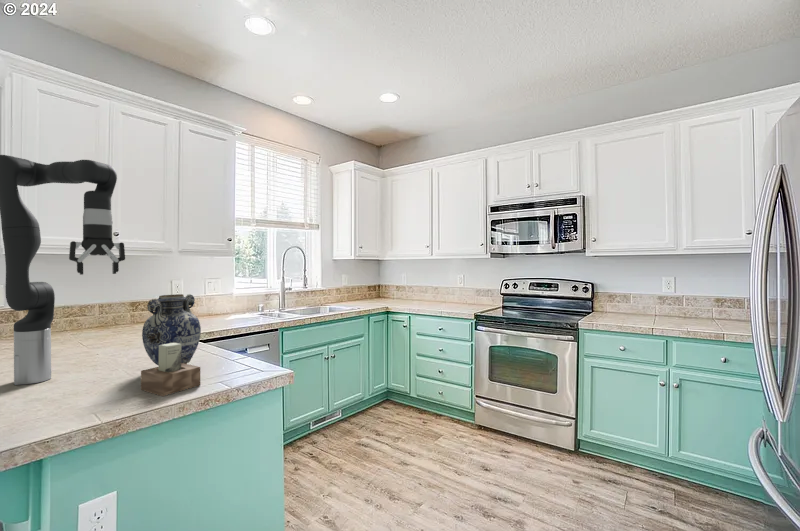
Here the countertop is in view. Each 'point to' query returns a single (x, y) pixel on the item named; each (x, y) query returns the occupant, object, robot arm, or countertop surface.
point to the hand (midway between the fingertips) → (98, 274)
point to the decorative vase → (171, 326)
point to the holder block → (170, 379)
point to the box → (169, 357)
